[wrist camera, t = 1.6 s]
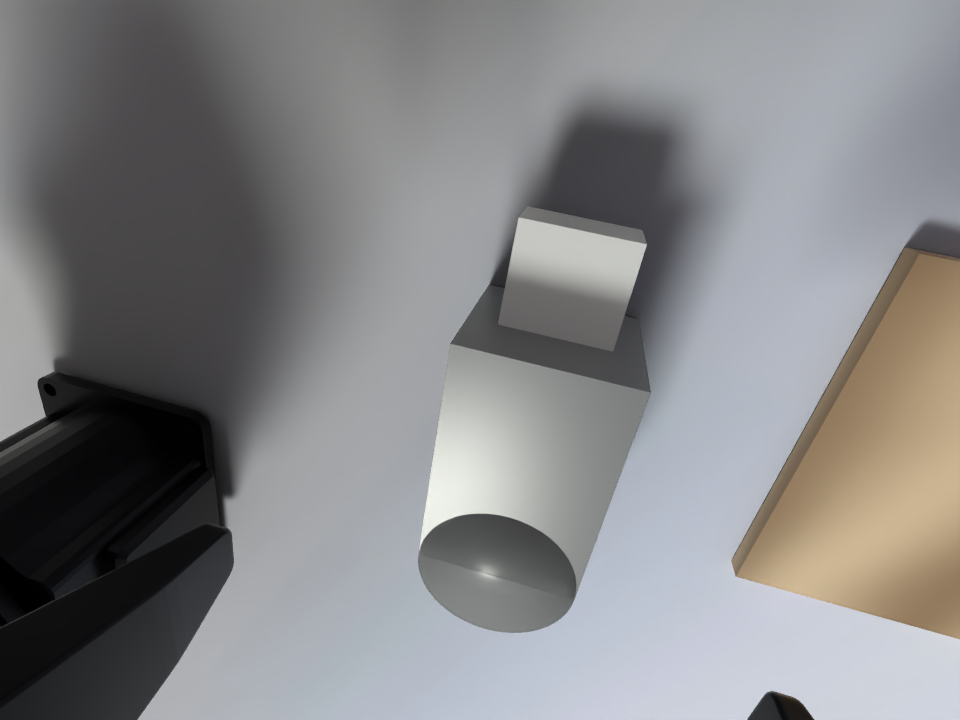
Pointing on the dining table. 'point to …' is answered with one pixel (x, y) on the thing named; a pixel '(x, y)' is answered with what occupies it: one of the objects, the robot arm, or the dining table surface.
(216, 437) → the dining table surface
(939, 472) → the cork pad
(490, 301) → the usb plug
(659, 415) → the dining table surface
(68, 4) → the dining table surface
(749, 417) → the dining table surface
